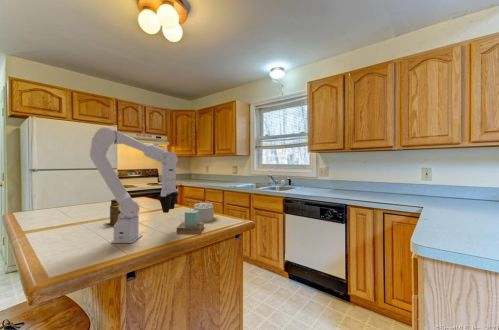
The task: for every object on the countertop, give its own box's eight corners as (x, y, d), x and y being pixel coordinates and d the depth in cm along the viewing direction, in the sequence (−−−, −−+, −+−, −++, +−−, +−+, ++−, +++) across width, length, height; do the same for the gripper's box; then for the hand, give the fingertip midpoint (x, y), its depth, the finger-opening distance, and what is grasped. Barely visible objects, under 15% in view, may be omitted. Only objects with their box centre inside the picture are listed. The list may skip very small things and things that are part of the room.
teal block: (195, 226, 104) (195, 212, 104) (184, 226, 105) (184, 212, 105) (198, 223, 109) (198, 210, 109) (188, 223, 110) (188, 210, 110)
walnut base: (199, 234, 102) (200, 227, 102) (176, 234, 102) (176, 227, 102) (203, 228, 112) (203, 222, 112) (182, 228, 112) (182, 222, 112)
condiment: (126, 224, 116) (126, 199, 116) (107, 227, 111) (107, 201, 110) (122, 221, 122) (122, 198, 122) (103, 224, 116) (103, 199, 116)
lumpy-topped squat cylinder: (213, 216, 135) (213, 201, 135) (213, 222, 122) (213, 205, 122) (194, 217, 133) (194, 201, 133) (192, 222, 120) (193, 205, 120)
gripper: (173, 181, 96) (173, 214, 97) (182, 178, 111) (182, 207, 111) (155, 180, 96) (155, 214, 96) (167, 178, 111) (166, 207, 111)
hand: (168, 210), depth 104 cm, fingers open, 7 cm apart
